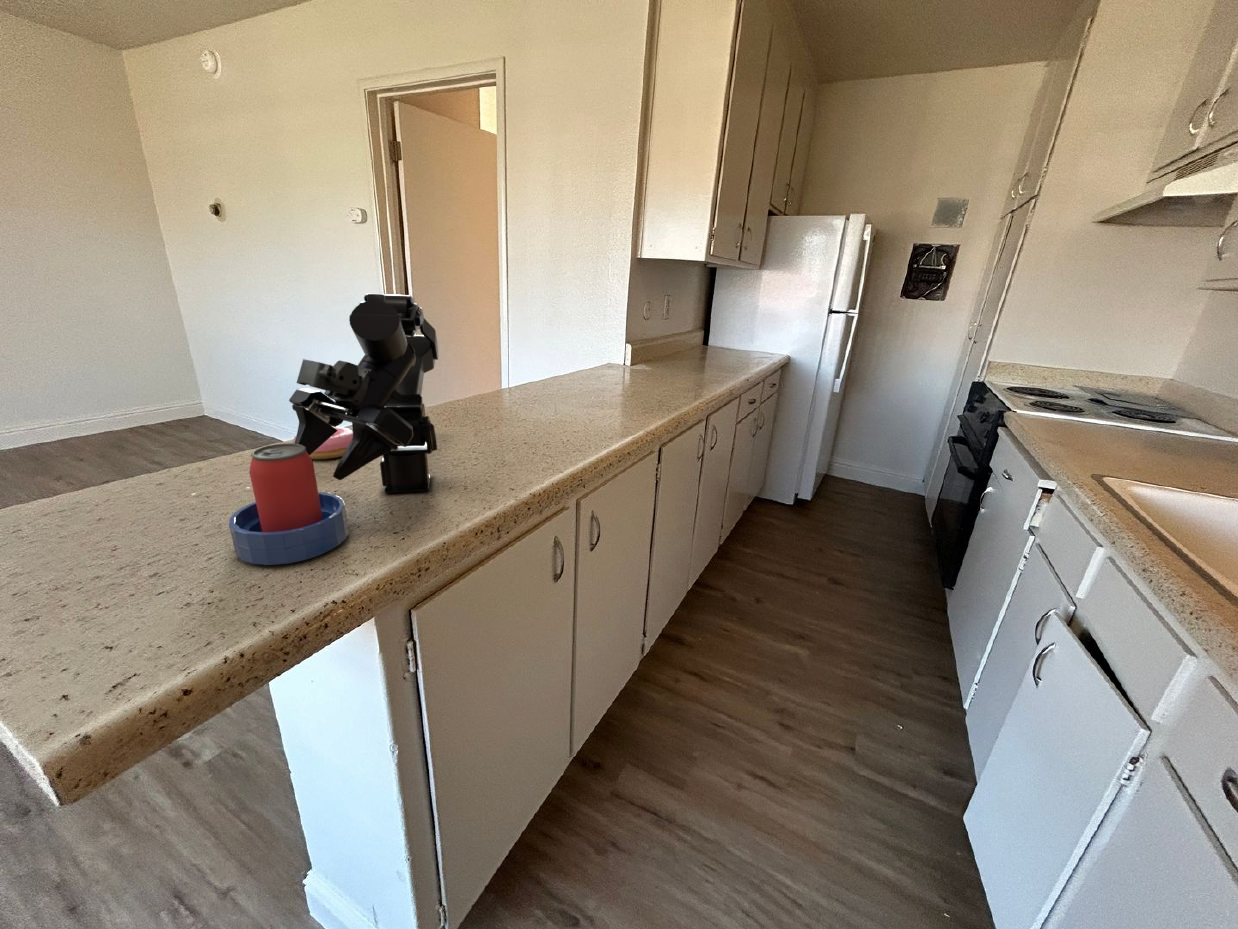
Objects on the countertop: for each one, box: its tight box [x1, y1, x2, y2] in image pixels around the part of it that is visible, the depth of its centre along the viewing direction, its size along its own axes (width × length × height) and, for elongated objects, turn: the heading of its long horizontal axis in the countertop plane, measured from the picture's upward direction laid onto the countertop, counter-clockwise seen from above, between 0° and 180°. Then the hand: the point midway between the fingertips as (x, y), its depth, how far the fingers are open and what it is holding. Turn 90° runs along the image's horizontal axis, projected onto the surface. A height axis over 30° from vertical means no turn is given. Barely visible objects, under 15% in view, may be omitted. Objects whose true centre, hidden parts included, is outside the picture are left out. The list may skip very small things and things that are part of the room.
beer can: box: [249, 442, 323, 532], centre depth 63 cm, size 7×7×12 cm
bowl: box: [228, 491, 350, 566], centre depth 64 cm, size 12×12×4 cm
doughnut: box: [292, 426, 353, 460], centre depth 96 cm, size 11×11×4 cm
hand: (314, 470), depth 66 cm, fingers open, 9 cm apart
